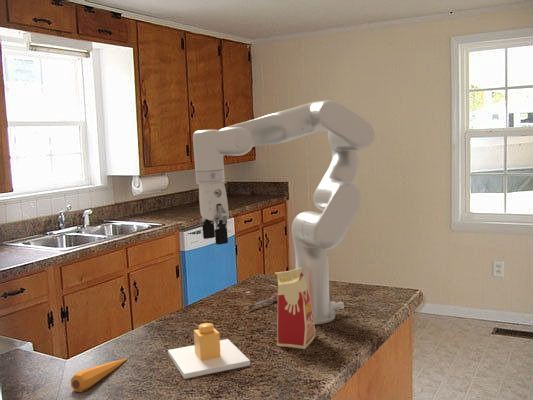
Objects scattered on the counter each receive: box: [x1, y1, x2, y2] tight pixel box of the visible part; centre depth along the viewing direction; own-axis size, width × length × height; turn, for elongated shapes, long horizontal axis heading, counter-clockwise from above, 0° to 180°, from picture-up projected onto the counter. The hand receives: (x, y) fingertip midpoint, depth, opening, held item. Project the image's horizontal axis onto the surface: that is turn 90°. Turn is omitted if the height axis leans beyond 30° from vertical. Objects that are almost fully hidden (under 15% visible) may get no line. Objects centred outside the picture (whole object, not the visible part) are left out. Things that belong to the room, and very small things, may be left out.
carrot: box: [70, 357, 129, 393], centre depth 132 cm, size 20×4×4 cm, turn 160°
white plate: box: [167, 338, 251, 380], centre depth 138 cm, size 16×16×6 cm
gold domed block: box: [193, 322, 221, 361], centre depth 138 cm, size 5×5×8 cm
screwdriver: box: [246, 292, 278, 309], centre depth 184 cm, size 25×3×3 cm, turn 138°
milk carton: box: [274, 267, 316, 350], centre depth 147 cm, size 9×9×20 cm
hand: (215, 240), depth 151 cm, fingers open, 9 cm apart
